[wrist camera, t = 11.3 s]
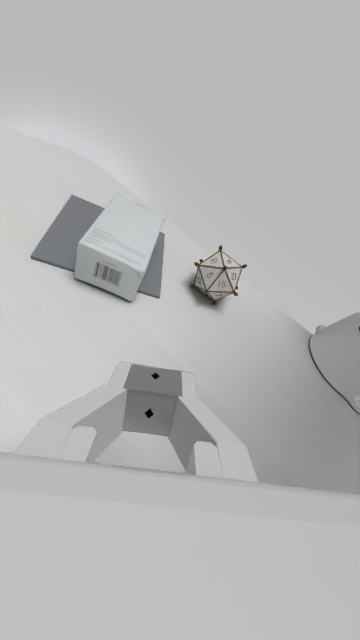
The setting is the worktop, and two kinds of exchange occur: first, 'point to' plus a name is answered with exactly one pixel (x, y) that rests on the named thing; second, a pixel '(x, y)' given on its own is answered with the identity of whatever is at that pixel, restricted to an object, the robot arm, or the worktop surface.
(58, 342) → the worktop surface
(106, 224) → the skincare box
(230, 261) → the game die
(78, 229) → the mat
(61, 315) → the worktop surface
